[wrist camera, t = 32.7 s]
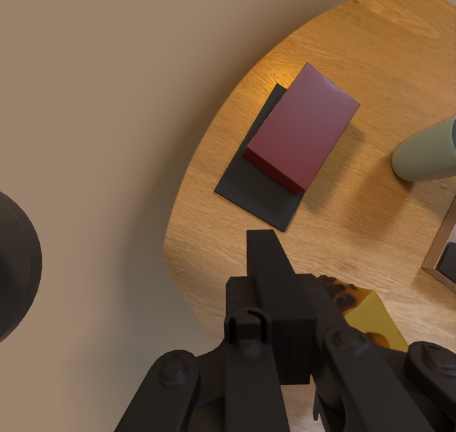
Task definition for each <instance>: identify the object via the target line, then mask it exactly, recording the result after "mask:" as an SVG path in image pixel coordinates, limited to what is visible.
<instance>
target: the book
mask: <svg viewBox="0 0 456 432" xmlns="http://www.w3.org/2000/svg"><path fill="white" fill-rule="evenodd" d="M359 106H360V104H359V103H358V102H356V101H355V100H354V99H353V98H351V97H350V96H349V95H348V94H346V93H345V92H344V91H343V90H341V89H340V88H339V87H338V86H336V85H335V84H334V83H333V82H331V81H330V80H329V79H328V78H326V77H325V76H324V75H323V74H321V73H320V72H319V71H318V70H316V69H315V68H314V67H313V66H311V65H310V64H309V63H308V62H307V63H306V64H305V66H304V67H303V68H302V70H301V71H300V73H299V74H298V75H297V77H296V78H295V80H294V81H293V82H292V84H291V85H290V87H289V88H288V90H287V91H286V92H285V94H284V95H283V97H282V98H281V99H280V101H279V102H278V104H277V105H276V106H275V108H274V109H273V111H272V112H271V113H270V115H269V116H268V118H267V119H266V120H265V122H264V123H263V125H262V126H261V127H260V129H259V130H258V132H257V133H256V135H255V136H254V137H253V139H252V140H251V142H250V143H249V144H248V146H247V147H246V149H245V151H244V152H243V154H242V157H244V158H245V159H246V160H248V161H249V162H250V163H252V164H253V165H255V166H256V167H257V168H259V169H260V170H261V171H263V172H264V173H265V174H267V175H268V176H269V177H271V178H272V179H274V180H275V181H276V182H278V183H279V184H280V185H282V186H283V187H284V188H286V189H287V190H288V191H290V192H291V193H293V194H294V195H296V194H299V193H301V192H304V191H306V190H307V189H308V187H309V185H310V184H311V182H312V181H313V179H314V177H315V176H316V174H317V173H318V171H319V170H320V168H321V166H322V165H323V163H324V162H325V160H326V158H327V157H328V155H329V154H330V152H331V150H332V149H333V147H334V146H335V144H336V143H337V141H338V139H339V138H340V136H341V135H342V133H343V131H344V130H345V128H346V127H347V125H348V123H349V122H350V120H351V119H352V117H353V115H354V114H355V112H356V111H357V109H358V108H359Z"/></svg>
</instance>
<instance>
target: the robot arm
mask: <svg viewBox="0 0 456 432" xmlns="http://www.w3.org/2000/svg"><path fill="white" fill-rule="evenodd" d="M224 336H225V337H224V339H223V341H222V343H221V344H220V345H219V346H218V347H217V348H215V349H214V350H213V351H211V352H208V353H206V354H203V355H201V356H198V357H195V356H194V355H193V354H192V353H190V352H188V351H185V350H174V351H171V352H167V353H165V354H164V355H162V356H161V357H159V358H158V359H157V360H156V361H155V363H154V364H153V365H152V366H151V368H150V370H149V371H148V373H147V375H146V377H145V378H144V380H143V382H142V383H141V386H140V387H139V389H138V391H137V392H136V394H135V396H134V397H133V399H132V401H131V403H130V405H129V406H128V408H127V410H126V411H125V413H124V415H123V417H122V418H121V420H120V422H119V424H118V425H117V427H116V429H115V431H114V432H290V429H289V424H288V419H287V415H286V410H285V406H284V401H283V396H282V392H281V387H280V385H304V384H310V376H311V374H312V377H313V380H314V382H315V385H316V392H315V399H314V406H313V418H314V421H318V414H320V417H321V420H322V423H323V426H324V429H325V432H456V354H455V353H453V352H451V351H450V350H448V349H446V348H444V347H442V346H439V345H437V344H434V343H430V342H425V341H419V342H414V343H412V344H410V345H409V348H408V351H407V352H403V351H398V350H394V349H390V348H385V347H382V346H378V345H375V344H373V342H372V341H371V340H370V339H369V338H368V337H367V336H366V335H365V334H364V333H363V332H361V331H360V330H358V329H356V328H354V327H351V326H349V324H348V323H347V321H346V319H345V318H344V316H343V315H342V313H341V312H340V310H339V309H338V307H337V306H336V304H335V302H334V301H333V299H332V298H331V297H330V295H329V293H328V292H327V291H326V288H325V287H324V285H323V284H322V282H321V281H320V280H319V279H318V278H316V277H315V276H314V275H312V274H311V273H310V274H295V272H294V270H293V268H292V266H291V264H290V262H289V260H288V258H287V256H286V254H285V252H284V250H283V248H282V246H281V244H280V242H279V240H278V238H277V236H276V234H275V232H274V230H273V229H269V230H247V276H241V277H230V279H229V280H228V282H227V283H226V317H225V321H224Z"/></svg>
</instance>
